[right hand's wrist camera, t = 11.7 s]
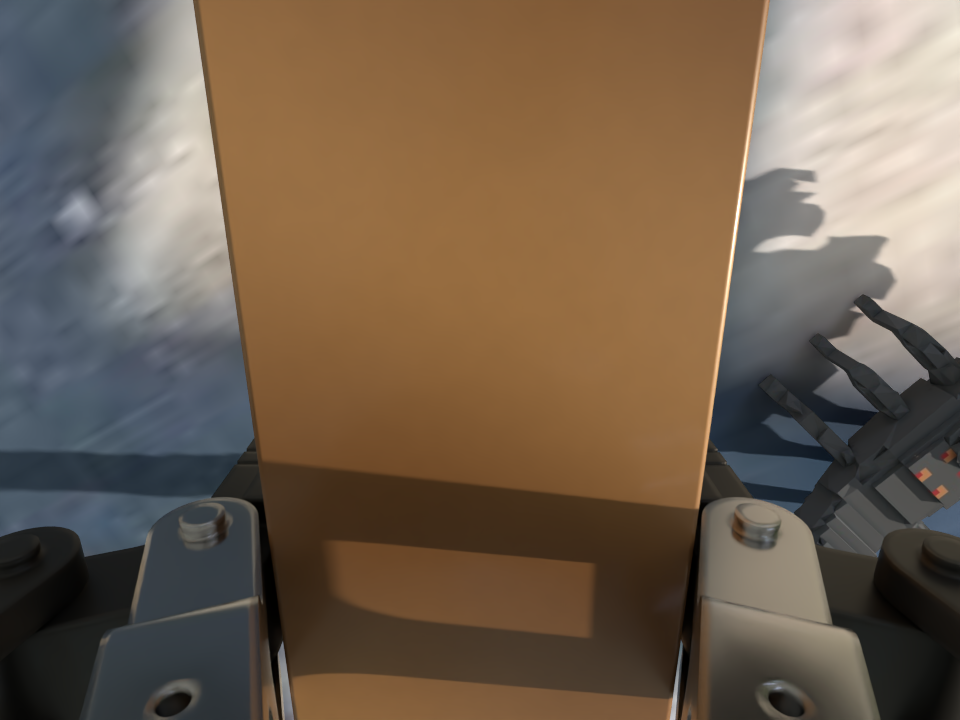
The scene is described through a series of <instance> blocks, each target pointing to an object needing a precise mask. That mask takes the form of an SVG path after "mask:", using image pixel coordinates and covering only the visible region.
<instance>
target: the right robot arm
mask: <svg viewBox="0 0 960 720" xmlns="http://www.w3.org/2000/svg"><path fill="white" fill-rule="evenodd" d="M681 640H682V643H683V648H682V655H681V662H680V669H679V682H678V694H677V707H676V720H960V538H959V537H956V536H953V535H950V534H946V533H942V532H938V531H933V530H928V529H918V528H906V529H899V530H895V531H892V532H890V533H888V534H887V535H886V536H885V537H884V539H883V542H882V545H881V549H880V553H879V557H873V556H867V555H862V554H857V553H852V552H847V551H842V550H836V549H832V548H827V547H823V546H820V545H816V544H815V543H814V539H813V535H812V532H811V530H810V529H809V527H808V526H807V525H806V524H805V523H804V522H803V521H802V520H801V519H800V518H798V517H797V516H796V515H794V514H793V513H791V512H789V511H788V510H786V509H784V508H782V507H779V506H777V505H774V504H772V503H769V502H765V501H762V500H757V499H754V498H753V497H752V496H751V494H750V493H749V492H748V490H747V489H746V487H745V486H744V485H743V483H742V482H741V481H740V479H739V478H738V477H737V475H736V474H735V473H734V471H733V470H732V468H731V467H730V466H729V465H727V462H726V460H725V459H724V458H723V456H722V455H721V454H720V452H717V448H716V447H715V445H714V444H713V443H712V441H711V440H710V439H709V440H708V447H707V455H706V462H705V469H704V476H703V483H702V491H701V498H700V505H699V512H698V519H697V526H696V534H695V541H694V548H693V555H692V562H691V570H690V577H689V584H688V591H687V598H686V605H685V613H684V620H683V627H682V634H681ZM282 641H283V636H282V629H281V622H280V615H279V608H278V600H277V593H276V586H275V579H274V572H273V565H272V558H271V551H270V544H269V536H268V529H267V522H266V515H265V508H264V501H263V494H262V487H261V480H260V472H259V465H258V458H257V451H256V444H255V438H254V439H253V441H252V442H251V443H250V445H249V446H248V448H247V452H244V453H243V455H242V456H241V457H240V459H239V460H238V464H237V465H235V466H234V467H233V468H232V470H231V471H230V472H229V474H228V475H227V477H226V478H225V479H224V481H223V482H222V483H221V485H220V486H219V488H218V489H217V490H216V492H215V493H214V494H213V496H212V497H211V498H208V499H203V500H198V501H195V502H192V503H188V504H186V505H183V506H181V507H178V508H176V509H174V510H172V511H171V512H169V513H167V514H166V515H164V516H163V517H162V518H160V519H159V520H158V521H157V522H156V523H155V524H154V525H153V526H152V528H151V529H150V530H149V533H148V535H147V539H146V543H145V545H142V546H138V547H134V548H129V549H124V550H118V551H113V552H108V553H103V554H98V555H93V556H87V557H84V553H83V549H82V546H81V542H80V539H79V537H78V535H77V534H76V533H75V532H74V531H72V530H70V529H66V528H63V527H38V528H31V529H26V530H22V531H18V532H14V533H11V534H8V535H5V536H2V537H0V720H285V719H284V706H283V694H282V681H281V668H280V661H279V655H278V651H279V649H280V647H281V644H282Z"/></svg>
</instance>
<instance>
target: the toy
mask: <svg viewBox="0 0 960 720" xmlns="http://www.w3.org/2000/svg"><path fill="white" fill-rule="evenodd" d="M854 303H855V304H856V305H857V306H858V307H859V308H860V310H861V311H862V312H863V313H864V314H865V315H866V316H867V317H868V318H869V319H870V320H872V321H873V322H875V323H876V324H878V325H880V326H882V327H884V328H886V329H888V330H890V331H892V332H893V334H894V335H895V336H896V337H897V338H898V339H899V340H900V342H901V343H902V345H903V346H904V347H905V348H906V349H907V350H908V351H909V352H910V354H911V355H912V356H913V357H914V358H915V359H916V360H917V361H918V362H919V363H920V364H921V365H922V366H923V367H924V368H925V369H927V370H928V372H929V378H930V379H929V380H928V381H925V380H924V379H922V378H920V379H919V380H918V381H916V382H915V383H914V384H913V385H912V386H910V387H909V388H908V389H907V390H905V391H904V392H903V393H902V394H900V395H899V394H898V392H896V391H894V390H893V389H892V388H891V387H890V386H889V385H888V384H887V383H886V382H885V381H884V380H882V379H881V378H880V377H879V376H878V375H877V374H876V373H875V372H874V371H873V370H872V369H870V368H869V367H867V366H866V365H864V364H862V363H859V362H857V361H855V360H854V359H852V358H851V357H849V356H847V355H846V354H844V353H842V352H841V351H839V350H837V349H836V348H835V347H834V346H833V345H832V344H831V343H830V342H829V341H828V340H827V339H826V338H824V337H823V336H822V335H820V334H817V335H816V336H814V337H813V338H812V339H811V340H810V342H811V343H812V344H813V345H814V346H815V348H816V349H817V350H818V351H819V352H820V353H821V354H822V355H823V356H824V357H825V358H826V359H828V360H829V361H831V362H832V363H834V364H836V365H837V366H839V367H840V368H842V369H843V370H844V371H845V372H846V373H847V375H848V377H849V379H850V381H851V383H852V384H853V386H854V387H855V388H856V389H857V390H858V391H859V392H860V393H861V394H862V395H863V396H864V397H865V398H866V399H867V400H868V401H869V402H870V403H871V404H872V405H873V406H874V407H875V408H876V409H877V410H879V412H878V413H877V414H875V415H874V416H873V417H872V418H871V420H870V421H868V422H867V423H866V424H865V425H864V426H863V427H862V428H861V429H860V430H858V431H857V432H856V433H855V434H854V435H853V436H852V437H851V438H850V439H849V440H848V446H847V445H846V444H845V443H844V442H843V441H842V440H841V439H840V438H839V437H838V436H837V435H836V434H835V433H834V432H833V431H832V430H831V429H830V428H829V427H828V426H827V425H826V424H825V423H824V422H823V421H822V420H821V419H820V418H819V417H818V416H817V415H816V414H815V413H814V412H813V411H812V410H810V409H809V408H808V407H807V406H806V405H804V404H803V403H802V402H801V401H800V400H799V399H797V398H796V397H795V396H794V395H793V394H792V393H791V392H789V391H788V390H787V389H786V388H785V387H784V386H783V385H782V384H781V383H780V382H779V381H778V380H777V379H776V378H775V377H773V376H772V375H769V376H768V377H767V378H766V379H765V380H764V381H762V382H761V383H760V384H759V386H760V387H761V388H762V389H763V390H764V391H765V392H766V393H767V394H768V395H769V396H770V397H771V398H772V399H773V400H774V401H775V402H777V403H778V404H779V405H781V406H782V407H783V408H785V409H786V410H787V411H788V412H789V413H790V414H791V416H792V417H793V418H794V419H795V420H796V421H797V422H798V423H799V424H800V425H801V426H802V427H803V428H804V429H805V430H806V431H807V432H808V433H809V434H810V435H811V436H812V437H813V438H814V439H815V440H816V441H817V442H818V443H819V444H820V445H821V446H822V447H823V448H824V449H825V450H826V451H827V452H828V453H829V454H830V455H832V456H833V457H834V458H835V460H834V461H833V462H832V464H831V465H830V466H829V467H828V469H827V470H826V471H825V473H824V474H823V475H822V477H821V478H820V479H819V481H818V482H817V484H816V485H815V488H814V490H813V492H812V493H811V494H810V495H808V496H807V497H806V498H805V499H804V500H805V502H804V503H803V505H802V506H801V507H800V508H799V509H797V510H796V511H795V512H794V513H795V514H794V515H796V516H797V517H798V518H800V519H801V520H802V521H803V522H804V523H805V524H806V525H807V526H808V527H809V529H810V530H811V532H812V535H813V539H814V543H815V544H816V545H820V546H823V547H827V548H832V549H836V550H842V551H847V552H852V553H857V554H862V555H867V556H873V557H877V555H876V554H875V553H876V552H877V551H878V550H879V549H880V548H881V545H882V542H883V539H884V537H885V536H886V535H887V534H888V533H890V532H892V531H895V530H899V529H906V528H918V529H928V530H930V529H929V528H928V527H927V526H926V525H925V524H923V522H922V521H921V520H922V519H924V518H925V517H927V516H928V517H930V516H931V515H932V514H934V513H935V512H936V511H938V510H939V509H940V508H942V507H944V508H945V509H948V508H949V507H951V506H952V505H953V504H955V503H956V502H958V501H959V500H960V358H957V357H956V358H955V359H954V358H953V357H952V356H951V355H950V354H949V352H948V351H947V350H946V349H945V348H944V347H942V346H941V345H940V344H939V343H938V342H937V341H936V340H935V339H934V338H933V337H931V336H930V335H929V334H928V333H927V332H926V331H925V330H923V329H922V328H920V327H918V326H916V325H914V324H913V323H910V322H908V321H906V320H904V319H902V318H900V317H897V316H895V315H893V314H891V313H889V312H887V311H884V310H882V309H881V308H880V307H879V306H878V304H877V303H876V302H874V301H873V300H872V299H871V298H870V297H868V296H865V295H862V296H860V297H859V298H858V299H857V300H856V301H855V302H854Z"/></svg>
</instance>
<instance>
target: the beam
mask: <svg viewBox="0 0 960 720" xmlns="http://www.w3.org/2000/svg"><path fill="white" fill-rule="evenodd" d="M769 2H770V0H193V3H194V10H195V17H196V24H197V31H198V39H199V46H200V53H201V60H202V67H203V74H204V81H205V88H206V95H207V103H208V110H209V117H210V124H211V131H212V138H213V145H214V152H215V159H216V167H217V174H218V181H219V188H220V195H221V202H222V209H223V216H224V223H225V231H226V238H227V245H228V252H229V259H230V266H231V273H232V280H233V287H234V295H235V302H236V309H237V316H238V323H239V330H240V337H241V344H242V351H243V359H244V366H245V373H246V380H247V387H248V394H249V401H250V408H251V416H252V423H253V430H254V437H255V444H256V451H257V458H258V465H259V472H260V480H261V487H262V494H263V501H264V508H265V515H266V522H267V529H268V536H269V544H270V551H271V558H272V565H273V572H274V579H275V586H276V593H277V600H278V608H279V615H280V622H281V629H282V636H283V643H284V650H285V657H286V664H287V672H288V679H289V686H290V693H291V700H292V707H293V714H294V720H670V713H671V706H672V699H673V692H674V684H675V677H676V670H677V663H678V656H679V649H680V641H681V634H682V627H683V620H684V613H685V605H686V598H687V591H688V584H689V577H690V570H691V562H692V555H693V548H694V541H695V534H696V526H697V519H698V512H699V505H700V498H701V491H702V483H703V476H704V469H705V462H706V455H707V447H708V440H709V433H710V426H711V419H712V412H713V404H714V397H715V390H716V383H717V376H718V368H719V361H720V354H721V347H722V340H723V333H724V325H725V318H726V311H727V304H728V297H729V289H730V282H731V275H732V268H733V261H734V254H735V246H736V239H737V232H738V225H739V218H740V210H741V203H742V196H743V189H744V182H745V175H746V167H747V160H748V153H749V146H750V139H751V131H752V124H753V117H754V110H755V103H756V95H757V88H758V81H759V74H760V67H761V60H762V52H763V45H764V38H765V31H766V24H767V16H768V9H769Z"/></svg>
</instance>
